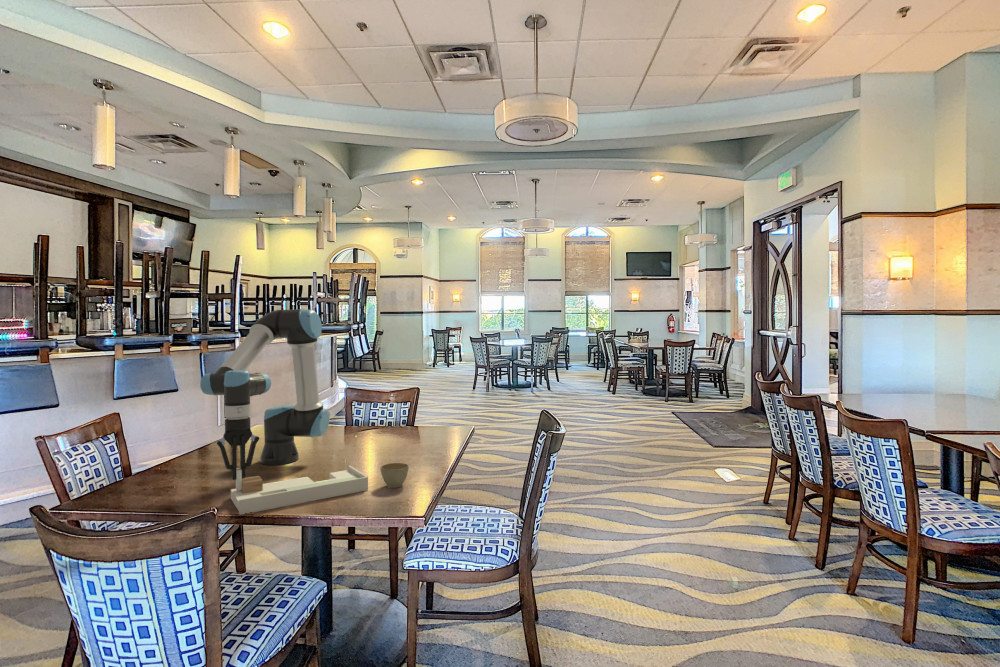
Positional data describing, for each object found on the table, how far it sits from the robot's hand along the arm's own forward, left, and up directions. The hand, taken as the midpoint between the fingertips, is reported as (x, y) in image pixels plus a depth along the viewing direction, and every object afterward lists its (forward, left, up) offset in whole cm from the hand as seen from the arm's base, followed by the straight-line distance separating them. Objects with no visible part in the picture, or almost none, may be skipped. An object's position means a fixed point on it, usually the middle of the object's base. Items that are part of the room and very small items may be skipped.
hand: (238, 488), depth 175 cm
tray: (+5, +18, -4) cm, 19 cm away
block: (0, +4, -1) cm, 4 cm away
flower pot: (+16, +48, -4) cm, 51 cm away
